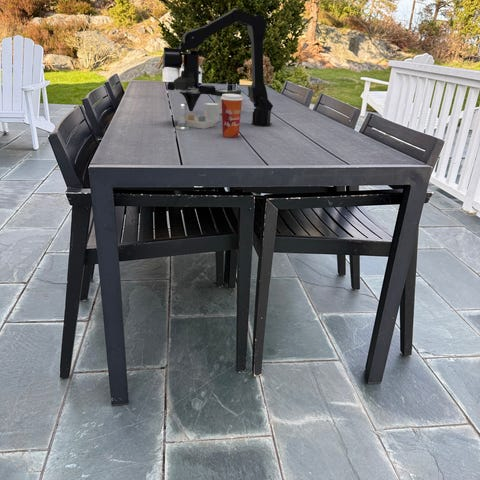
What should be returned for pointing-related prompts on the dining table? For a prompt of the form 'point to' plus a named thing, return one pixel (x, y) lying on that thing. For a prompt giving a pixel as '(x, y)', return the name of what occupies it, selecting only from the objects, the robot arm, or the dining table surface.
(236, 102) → the paper cup
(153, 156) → the dining table surface
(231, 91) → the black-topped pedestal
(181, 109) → the post
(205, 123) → the panel
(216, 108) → the grey cylinder
